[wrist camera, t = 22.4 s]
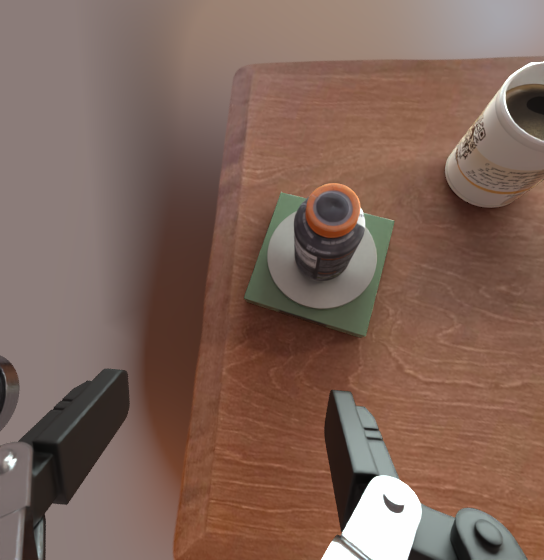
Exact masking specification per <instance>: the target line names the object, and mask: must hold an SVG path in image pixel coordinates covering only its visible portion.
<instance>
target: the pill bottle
mask: <svg viewBox="0 0 544 560" xmlns="http://www.w3.org/2000/svg"><path fill="white" fill-rule="evenodd" d="M364 232H365V217H364V214H363V211H362V209H361V208H360V201H359V199H358V197H357V195H356V194H355V193H354V191H352V190H351V189H350V188H348V187H346V186H344V185H341V184H336V183H332V184H326V185H323V186H320V187H318V188H317V189H316V190H315V191H313V192H312V194H311V195H310V197H308V198H307V199H306V200H305V201H304V202H303V203H302V204H301V205H300V206H299V208H298V210H297V212H296V214H295V218H294V249H295V253H294V254H295V261H296V264H297V266H298V268H299V270H300V271H301V272H302V273H303V274H304V275H305V276H307V277H309V278H311V279H313V280H316V281H328V280H332V279H334V278H336V277H338V276H339V275H340V274H341V273H343V272H344V270H345V269H346V268H347V266H348V264H349V262H350V260H351V258H352V256H353V255H354V253H355V251H356V249H357V247H358V245H359V243H360V241H361V240H362V238H363V235H364Z"/></svg>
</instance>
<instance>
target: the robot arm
mask: <svg viewBox="0 0 544 560" xmlns="http://www.w3.org/2000/svg"><path fill="white" fill-rule="evenodd" d="M129 404H130V403H129V387H128V374H127V371H125V370H116V369H104V370H102V371H101V372H100V373H99V374H98V375H97V376H96V377H95V378H94V379H93V380H92V381H86V382H85V383H83V384H81V385H79V386H77V387H76V388H74V389H73V390H72V391H70V392H69V393H68V395H66V396H65V397H64V398H63V400H62V401H60V402H59V403H58V404H57V405H56V406H55V407H54V409H53V410H51V411H49V412H48V413H47V414H46V415H45V416H44V417H43V418H42V419H41V420H40V421H39V422H38V423H37V424H36V425H35V426H34V427H33V428H32V429H31V430H30V431H28V432H27V433H26V434H25V435H24V436H23V437H22V438H21V439H20V440H19V441H18V442H11V443H7V444H3V445H1V446H0V560H45V535H46V534H45V533H46V532H45V531H46V525H45V524H46V519H45V512H46V511H47V510H48V508H49V507H50V505H51V504H52V503H55V504H66V505H67V504H68V503H69V501H70V500H71V498H72V497H73V495H74V494H75V492H76V491H77V489H78V488H79V487H80V485H81V484H82V482H83V481H84V479H85V478H86V476H87V475H88V473H89V472H90V470H91V469H92V467H93V466H94V464H95V463H96V462H97V460H98V459H99V457H100V456H101V454H102V453H103V451H104V450H105V448H106V447H107V445H108V444H109V442H110V441H111V439H112V438H113V437H114V435H115V434H116V432H117V430H118V429H119V428H120V426H121V425H122V423H123V422H124V420H125V419H126V417H127V414H128V410H129ZM324 434H325V443H326V448H327V454H328V460H329V465H330V471H331V477H332V482H333V488H334V494H335V499H336V505H337V511H338V517H339V522H340V528H341V532H343V533H342V534H341V536H339V535H336V536H335V538H334V539H333V541H332V542H331V544H330V546H329V547H328V549H327V551H326V553H325V555H324V556H323V558H322V560H528V559H527V558H526V556H525V554H524V553H523V551H522V550H521V548H520V546H519V545H518V543H517V541H516V540H515V538H514V537H513V536H512V534H511V533H510V532H509V531H508V530H507V529H506V528H505V527H504V526H503V525H502V524H501V523H500V522H499V521H498V520H496V519H495V518H493V517H492V516H490V515H489V514H487V513H485V512H483V511H480V510H478V509H474V508H463V509H461V510H460V511H458V513H457V514H456V517H455V518H454V517H451V516H449V515H446V514H444V513H441V512H439V511H436V510H434V509H431V508H429V507H427V506H425V505H423V504H422V503H420V502H419V500H418V498H417V496H416V495H415V493H414V492H413V491H412V490H411V489H410V488H409V487H408V486H407V485H406V484H405V483H403V482H402V481H400V479H399V477H398V475H397V472H396V470H395V467H394V465H393V462H392V460H391V458H390V455H389V453H388V450H387V448H386V445H385V443H384V441H383V438H382V436H381V433H380V431H379V428H378V426H377V423H376V421H375V418H374V417H373V416H372V414H371V413H370V412H369V411H368V410H367V409H366V408H365V407H362V406H356V405H355V402H354V399H353V396H352V393H351V392H349V391H338V390H331V391H330V395H329V401H328V407H327V412H326V418H325V427H324Z"/></svg>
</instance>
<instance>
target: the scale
mask: <svg viewBox="0 0 544 560" xmlns="http://www.w3.org/2000/svg"><path fill="white" fill-rule="evenodd" d="M305 200H306V199H305V198H301V197H297V196H294V195H290V194H286V193H282V192H281V193H280V196H279V199H278V202H277V205H276V208H275V210H274V213H273V216H272V219H271V222H270V225H269V228H268V230H267V233H266V236H265V239H264V242H263V245H262V247H261V250H260V253H259V256H258V259H257V262H256V264H255V267H254V270H253V273H252V276H251V279H250V281H249V284H248V287H247V290H246V293H245V296H244V299H245V300H246V301H247V302H248V303H251V304H255V305H258V306H261V307H264V308H267V309H271V310H274V311H277V312H279V313H282V314H285V315H288V316H292V317H295V318H298V319H301V320H304V321H308V322H311V323H314V324H317V325H320V326H323V327H328V328H331V329H334V330H337V331H340V332H344V333H347V334H350V335H353V336H356V337H359V338H362V337H365V336H366V333H367V329H368V325H369V321H370V317H371V313H372V309H373V305H374V301H375V297H376V293H377V289H378V285H379V281H380V277H381V273H382V270H383V266H384V262H385V258H386V254H387V250H388V246H389V242H390V238H391V234H392V230H393V226H394V222H395V221H393V220H389V219H385V218H381V217H377V216H373V215H369V214H365V213H363V214H364V217H365V232H364V235H363V238H362V240H361V241H360V243H359V245H358V247H357V249H356V251H355V253H354V255H353V256H352V258H351V260H350V262H349V264H348V266H347V268H346V269H345V270H344V272H343V273H341V274H340V275H339V276H338V277H336V278H334V279H332V280H328V281H316V280H313V279H311V278H309V277H307V276H305V275H304V274H303V273H302V272H301V271H300V270H299V268H298V266H297V264H296V261H295V254H294V253H295V249H294V218H295V214H296V212H297V210H298V208H299V206H300V205H301V204H302V203H303V202H304V201H305Z"/></svg>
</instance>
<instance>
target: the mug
mask: <svg viewBox="0 0 544 560" xmlns="http://www.w3.org/2000/svg"><path fill="white" fill-rule="evenodd" d="M445 175H446V179H447V182H448V184H449V186H450V187H451V189H452V190H453V191H454V192H455V194H456V195H458V196H459V197H460V198H461V199H463V200H464V201H466V202H468V203H470V204H473V205H476V206H480V207H488V208H493V207H500V206H505V205H507V204H510V203H512V202H513V201H515V200H516V199H518V198H519V197H521V196H522V195H523V194H525V193H526V192H528V191H529V190H530V189H532V188H533V187H535V186H536V185H537V184H539V183H540V182H542V181H543V180H544V62H539V63H529V64H528V65H526V66H525V67H523V68H521V69H519V70H518V71H516V72H515V73H514V74H512V75H511V76H510V77H509V78H508V79H507V80H506V82H505V83H504V84H503V85H502V87H501V88H500V89H499V91H498V92H497V93H496V95H495V96H494V97H493V99H492V100H491V101H490V103H489V104H488V105H487V106H486V108H485V109H484V110H483V112H482V113H481V114H480V116H479V117H478V118H477V120H476V121H475V122H474V123H473V125H472V126H471V127H470V129H469V130H468V131H467V133H466V134H465V135H464V137H463V138H462V139H461V141H460V142H459V143H458V144H457V146H456V147H455V148H454V150H453V151H452V152H451V154H450V155H449V157H448V159H447V162H446V166H445Z"/></svg>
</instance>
